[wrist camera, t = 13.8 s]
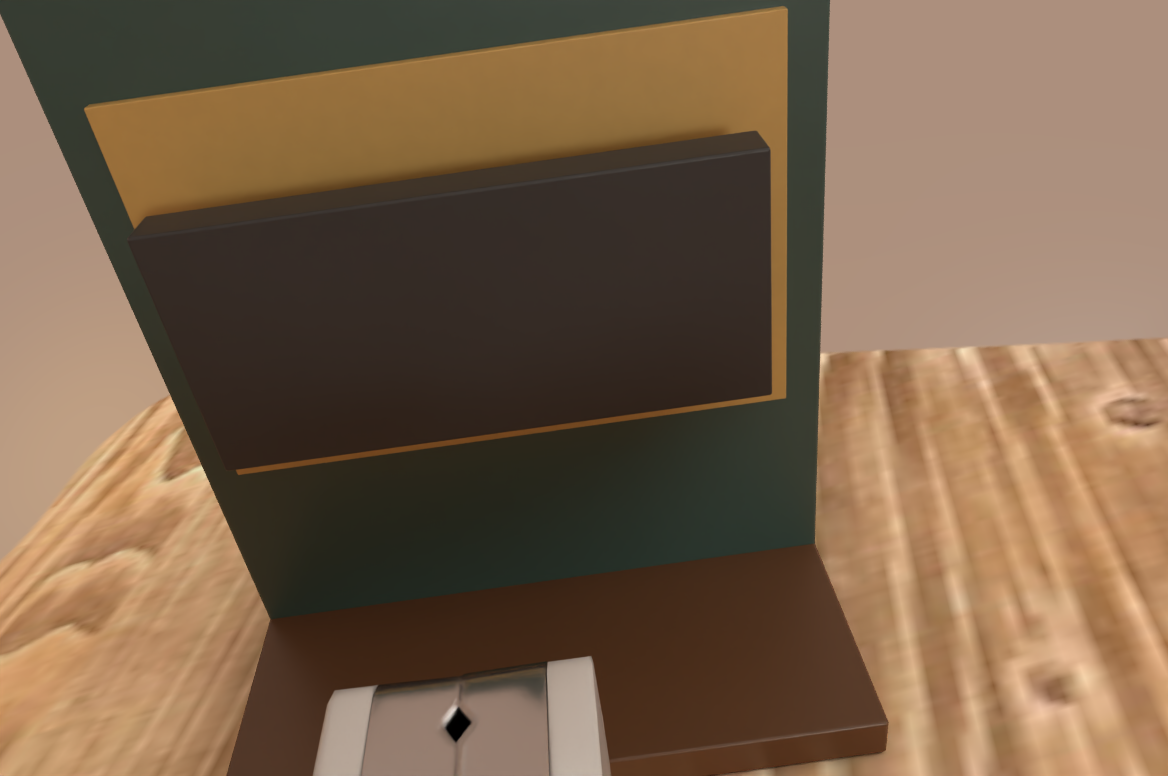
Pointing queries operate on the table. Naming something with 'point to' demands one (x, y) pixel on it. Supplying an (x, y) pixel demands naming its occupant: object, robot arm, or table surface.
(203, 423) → the switch stand
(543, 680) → the robot arm
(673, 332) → the switch button
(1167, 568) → the table surface
